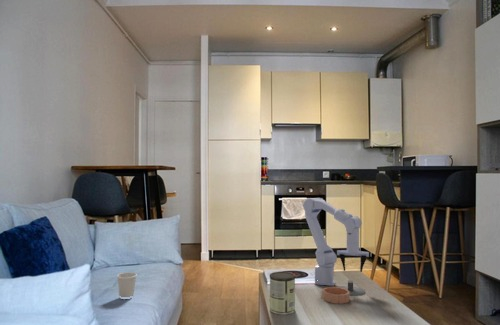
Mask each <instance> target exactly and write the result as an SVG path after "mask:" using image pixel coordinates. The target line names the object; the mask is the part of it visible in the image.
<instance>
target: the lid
mask: <svg viewBox="0 0 500 325" xmlns="http://www.w3.org/2000/svg"><path fill="white" fill-rule="evenodd" d="M338 287H339V288H344V289H347V290H348V291H349V296H351V297H352V296H353V297H355V296H356V297H357V296H363V295H365V294H366V290H365V289H363V288H361V287H358V286H354V280H347V285H344V286H343V285H342V286H341V285H340V286H338Z"/></svg>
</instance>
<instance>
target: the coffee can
mask: <svg viewBox="0 0 500 325" xmlns="http://www.w3.org/2000/svg"><path fill="white" fill-rule="evenodd" d="M295 279H296V275H295V273H292V272H288V271H275V272H271V273H270V274H269V311H270V312H271V313H273V314H277V315H291V314H293V313H295V311H296V309H295V308H296V306H295V305H296V303H295V302H296V300H295V297H296V295H295V293H296V292H295V291H296V288H295V287H296V286H295V285H296V284H295V283H296V282H295V281H296V280H295Z"/></svg>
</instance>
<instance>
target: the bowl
mask: <svg viewBox="0 0 500 325" xmlns="http://www.w3.org/2000/svg"><path fill="white" fill-rule="evenodd" d="M339 287H340V286H329V287H328V286H327V287H324V288H322V291H321V292H322V293H321V296H322V298H321V299H322V300H323V301H324V302H327V303H331V304H347V303H350V295H349V291H348V290H347V289H344V288H339Z"/></svg>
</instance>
